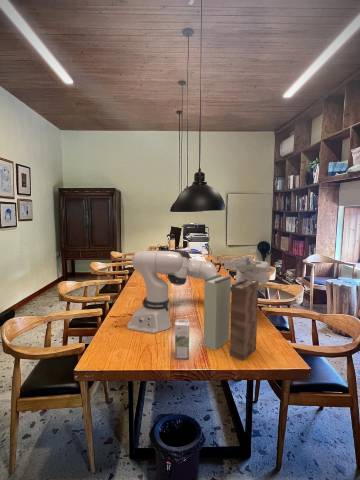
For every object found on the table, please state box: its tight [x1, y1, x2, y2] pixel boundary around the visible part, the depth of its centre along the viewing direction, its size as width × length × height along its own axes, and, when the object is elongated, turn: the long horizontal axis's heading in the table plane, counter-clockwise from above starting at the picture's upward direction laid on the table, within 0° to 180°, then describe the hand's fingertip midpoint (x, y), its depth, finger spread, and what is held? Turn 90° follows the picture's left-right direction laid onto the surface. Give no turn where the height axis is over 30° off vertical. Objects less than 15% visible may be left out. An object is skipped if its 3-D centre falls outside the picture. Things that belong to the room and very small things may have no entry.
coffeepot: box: [210, 259, 222, 273], centre depth 236 cm, size 15×9×18 cm, turn 70°
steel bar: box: [223, 255, 252, 270], centre depth 135 cm, size 22×3×3 cm, turn 140°
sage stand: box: [203, 273, 232, 351], centre depth 123 cm, size 12×6×30 cm, turn 140°
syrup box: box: [174, 319, 190, 360], centre depth 113 cm, size 6×6×14 cm
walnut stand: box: [229, 279, 260, 361], centre depth 115 cm, size 12×6×30 cm, turn 140°
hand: (244, 259), depth 140 cm, fingers closed on steel bar, 3 cm apart
